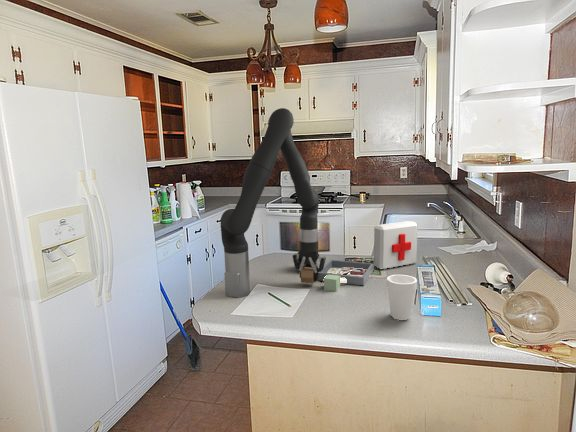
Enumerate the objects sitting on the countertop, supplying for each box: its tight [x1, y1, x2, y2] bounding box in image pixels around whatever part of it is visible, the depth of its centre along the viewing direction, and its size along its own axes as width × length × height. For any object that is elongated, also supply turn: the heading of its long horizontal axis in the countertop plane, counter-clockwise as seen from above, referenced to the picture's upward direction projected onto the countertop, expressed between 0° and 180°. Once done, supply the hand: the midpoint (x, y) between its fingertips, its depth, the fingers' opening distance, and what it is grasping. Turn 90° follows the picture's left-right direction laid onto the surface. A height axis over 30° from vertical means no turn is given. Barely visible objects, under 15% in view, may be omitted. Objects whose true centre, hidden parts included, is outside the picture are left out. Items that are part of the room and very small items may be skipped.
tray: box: [316, 259, 375, 286], centre depth 173 cm, size 20×20×4 cm
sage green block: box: [323, 274, 341, 293], centre depth 158 cm, size 5×5×5 cm
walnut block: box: [300, 267, 315, 285], centre depth 162 cm, size 5×5×5 cm
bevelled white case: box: [373, 220, 418, 270], centre depth 184 cm, size 21×8×20 cm, turn 114°
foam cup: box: [386, 274, 418, 321], centre depth 131 cm, size 10×9×13 cm
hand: (309, 279), depth 163 cm, fingers closed on walnut block, 5 cm apart
